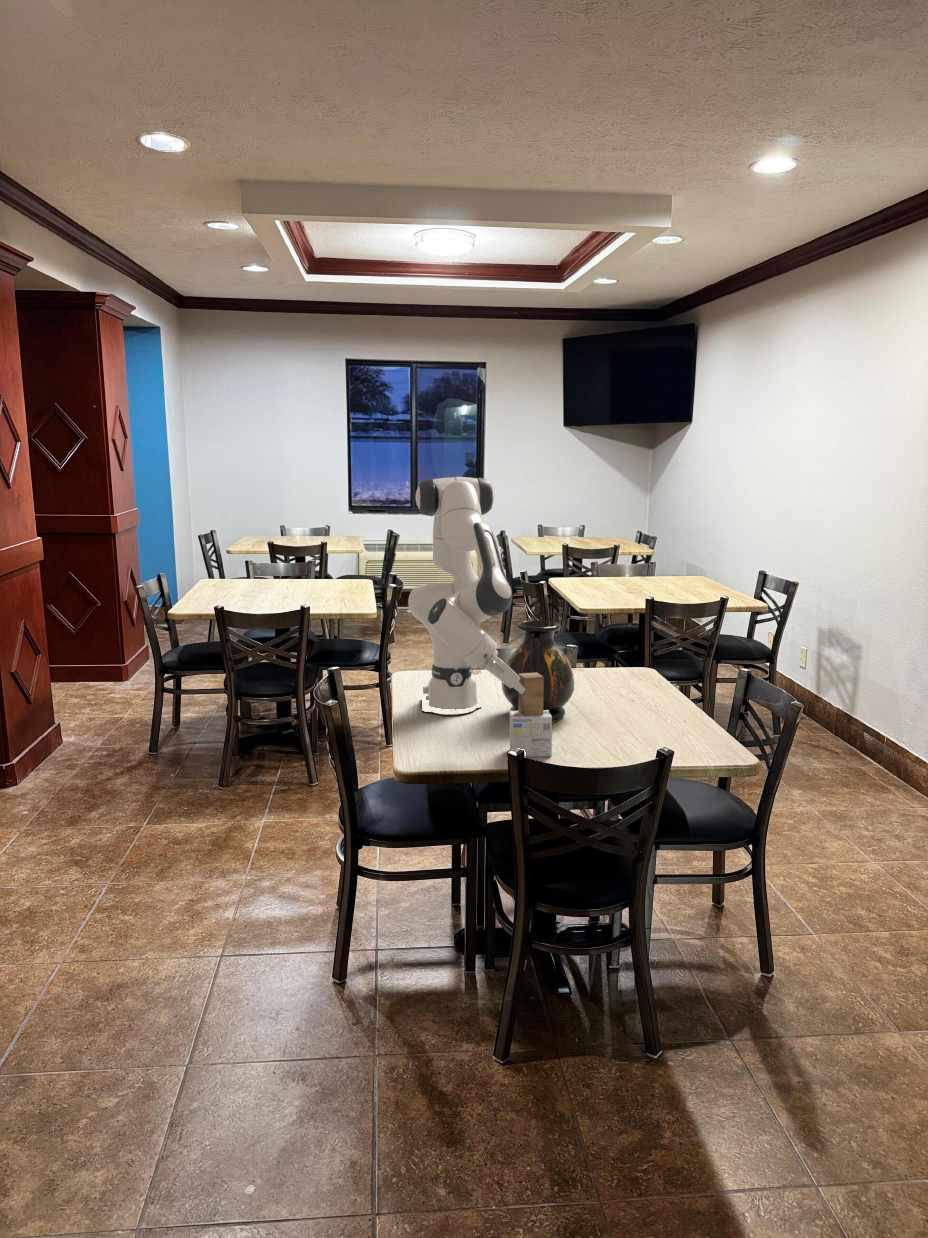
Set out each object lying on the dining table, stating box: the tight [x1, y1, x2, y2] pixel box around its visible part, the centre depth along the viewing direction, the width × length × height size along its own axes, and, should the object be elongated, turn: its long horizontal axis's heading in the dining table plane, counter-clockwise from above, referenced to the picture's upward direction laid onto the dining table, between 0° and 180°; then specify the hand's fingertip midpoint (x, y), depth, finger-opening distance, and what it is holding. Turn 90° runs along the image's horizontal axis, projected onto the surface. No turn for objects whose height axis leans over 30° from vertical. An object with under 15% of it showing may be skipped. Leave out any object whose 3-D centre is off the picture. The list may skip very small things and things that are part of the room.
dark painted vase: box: [501, 619, 575, 722], centre depth 249 cm, size 22×22×28 cm
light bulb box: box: [509, 710, 553, 758], centre depth 218 cm, size 11×7×11 cm, turn 92°
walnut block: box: [518, 672, 544, 717], centre depth 216 cm, size 5×5×10 cm
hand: (516, 686), depth 215 cm, fingers open, 8 cm apart
